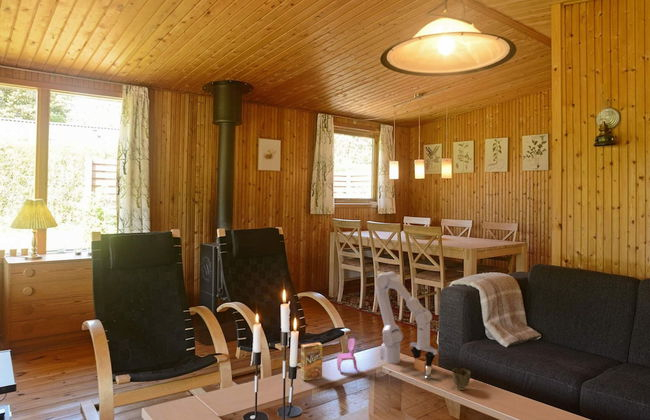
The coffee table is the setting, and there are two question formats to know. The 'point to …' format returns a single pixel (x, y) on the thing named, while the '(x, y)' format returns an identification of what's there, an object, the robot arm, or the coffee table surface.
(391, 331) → the robot arm
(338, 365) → the toy chair
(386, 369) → the coffee table surface
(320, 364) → the candy box
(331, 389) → the coffee table surface
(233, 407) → the coffee table surface
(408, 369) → the board
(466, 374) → the cup
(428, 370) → the post
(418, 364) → the collar
